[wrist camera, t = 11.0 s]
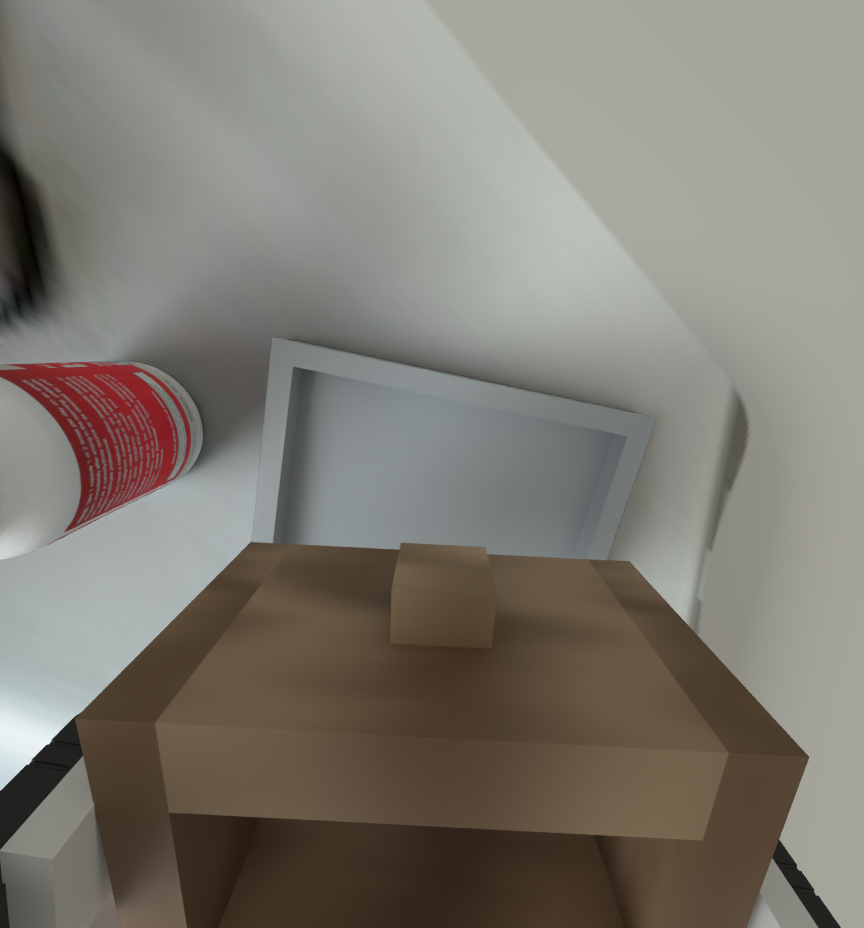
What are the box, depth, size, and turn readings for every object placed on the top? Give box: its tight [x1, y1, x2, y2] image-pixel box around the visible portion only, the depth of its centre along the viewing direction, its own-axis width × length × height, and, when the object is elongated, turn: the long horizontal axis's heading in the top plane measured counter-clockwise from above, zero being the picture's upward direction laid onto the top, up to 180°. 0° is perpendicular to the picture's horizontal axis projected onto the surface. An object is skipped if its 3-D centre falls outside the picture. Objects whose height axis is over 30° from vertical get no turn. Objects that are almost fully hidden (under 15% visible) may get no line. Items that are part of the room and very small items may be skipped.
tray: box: [252, 338, 656, 560], centre depth 21 cm, size 17×17×2 cm
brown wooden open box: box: [75, 542, 809, 928], centre depth 10 cm, size 11×9×6 cm
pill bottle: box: [0, 361, 203, 560], centre depth 15 cm, size 6×6×11 cm
